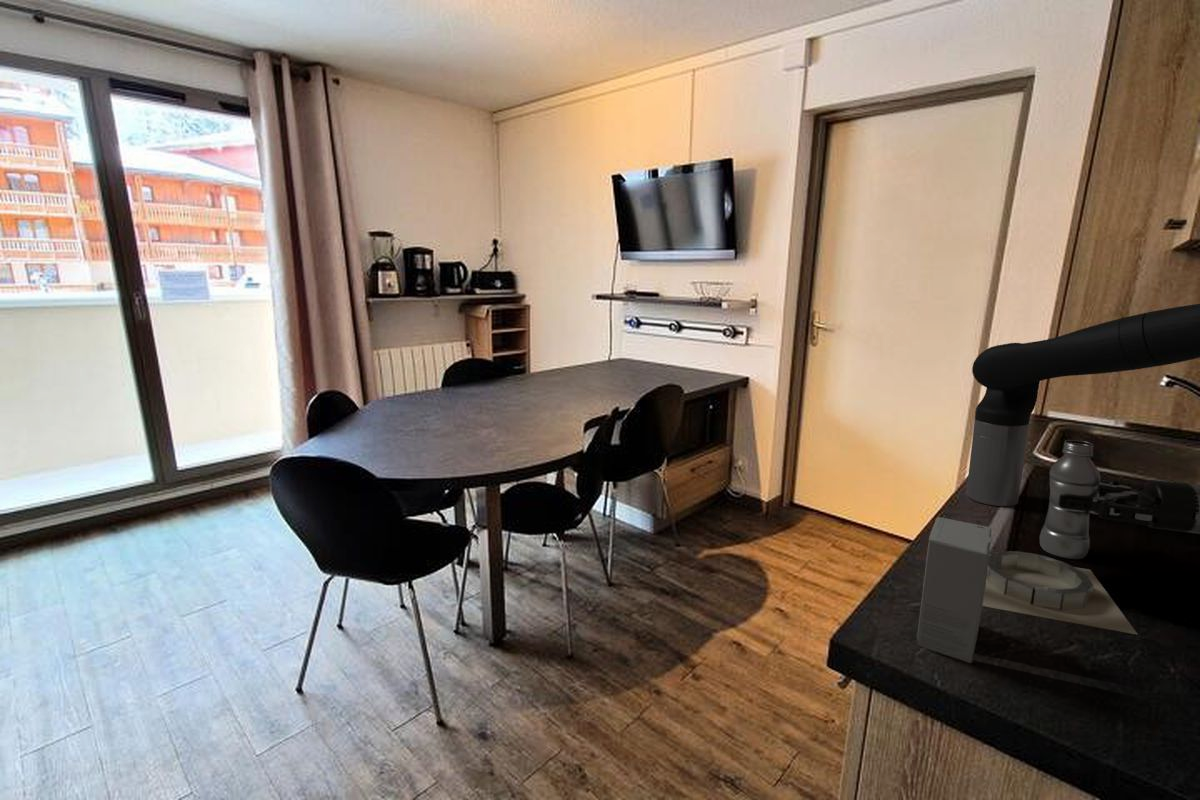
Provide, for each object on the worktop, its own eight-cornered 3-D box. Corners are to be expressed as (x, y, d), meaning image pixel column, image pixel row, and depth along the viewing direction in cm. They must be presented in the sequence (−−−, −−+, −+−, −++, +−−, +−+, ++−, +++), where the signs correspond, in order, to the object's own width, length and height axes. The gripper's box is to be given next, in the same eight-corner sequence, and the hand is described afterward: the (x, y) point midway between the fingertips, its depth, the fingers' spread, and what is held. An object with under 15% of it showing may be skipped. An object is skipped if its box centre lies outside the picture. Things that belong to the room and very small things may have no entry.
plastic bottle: (1068, 547, 97) (1084, 437, 93) (1098, 566, 91) (1117, 448, 87) (1028, 546, 98) (1043, 437, 94) (1055, 565, 91) (1072, 448, 87)
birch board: (956, 554, 96) (956, 549, 96) (1089, 575, 88) (1090, 569, 88) (973, 610, 80) (973, 604, 80) (1136, 641, 72) (1138, 634, 72)
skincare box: (924, 616, 79) (935, 514, 76) (980, 632, 75) (994, 526, 72) (914, 647, 73) (925, 537, 69) (975, 667, 69) (989, 551, 65)
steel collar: (979, 559, 92) (980, 545, 92) (1073, 574, 87) (1075, 559, 86) (993, 598, 81) (995, 582, 81) (1102, 617, 76) (1105, 601, 75)
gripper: (1170, 470, 92) (1044, 459, 99) (1218, 502, 79) (1070, 486, 86) (1162, 512, 93) (1038, 498, 100) (1208, 550, 80) (1063, 531, 88)
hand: (1053, 493), depth 93 cm, fingers closed on plastic bottle, 6 cm apart
